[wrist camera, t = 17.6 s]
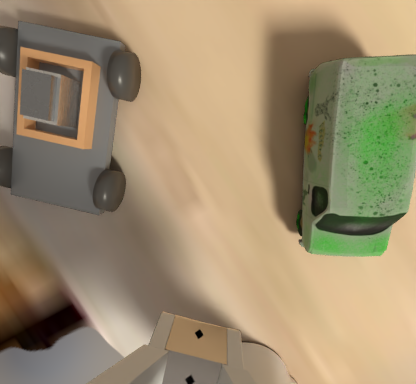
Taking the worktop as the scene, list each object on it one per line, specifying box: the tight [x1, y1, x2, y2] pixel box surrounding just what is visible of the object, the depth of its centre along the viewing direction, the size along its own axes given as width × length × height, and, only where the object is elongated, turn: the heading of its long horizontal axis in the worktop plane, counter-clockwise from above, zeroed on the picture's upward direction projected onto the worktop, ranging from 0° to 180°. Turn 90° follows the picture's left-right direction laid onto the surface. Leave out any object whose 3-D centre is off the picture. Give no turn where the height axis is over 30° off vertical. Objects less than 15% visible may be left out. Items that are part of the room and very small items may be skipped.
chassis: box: [0, 21, 141, 215], centre depth 34 cm, size 24×18×6 cm
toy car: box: [296, 55, 416, 257], centre depth 31 cm, size 11×25×10 cm, turn 1°
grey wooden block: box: [20, 67, 81, 128], centre depth 31 cm, size 6×4×5 cm
